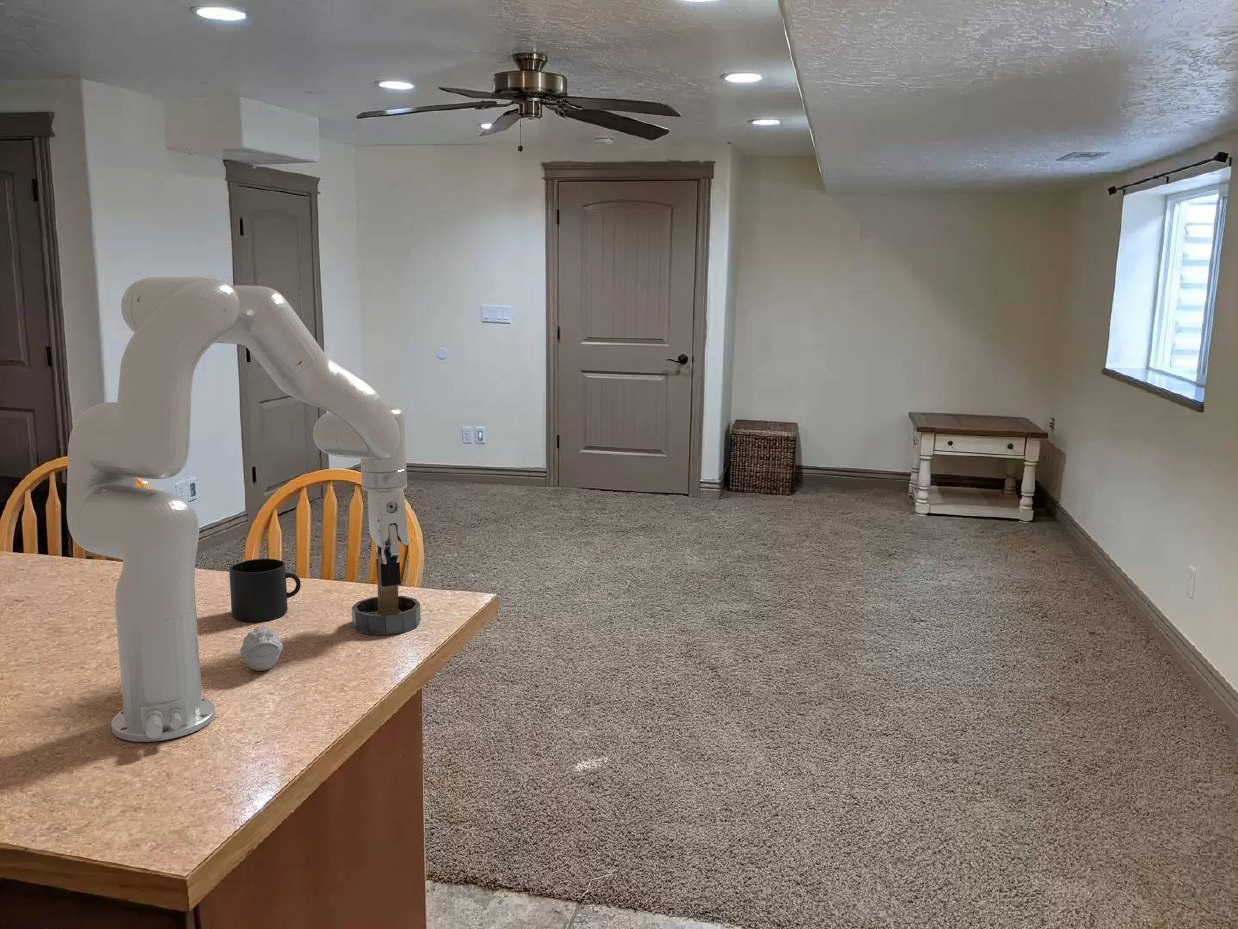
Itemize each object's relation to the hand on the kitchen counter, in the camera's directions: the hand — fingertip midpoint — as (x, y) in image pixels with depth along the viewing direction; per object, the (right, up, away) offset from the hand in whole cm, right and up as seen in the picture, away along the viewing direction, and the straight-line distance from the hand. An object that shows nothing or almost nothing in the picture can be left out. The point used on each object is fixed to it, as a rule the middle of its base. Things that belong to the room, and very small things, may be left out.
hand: (388, 581), depth 169 cm
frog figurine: (-14, -11, -20) cm, 27 cm away
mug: (-23, -7, +6) cm, 25 cm away
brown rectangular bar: (0, -7, +1) cm, 7 cm away
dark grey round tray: (0, -8, +1) cm, 8 cm away
